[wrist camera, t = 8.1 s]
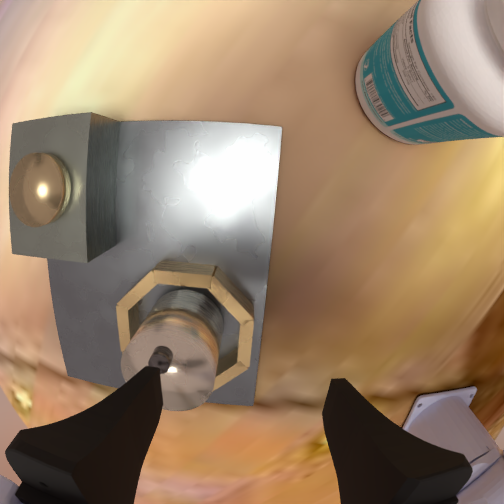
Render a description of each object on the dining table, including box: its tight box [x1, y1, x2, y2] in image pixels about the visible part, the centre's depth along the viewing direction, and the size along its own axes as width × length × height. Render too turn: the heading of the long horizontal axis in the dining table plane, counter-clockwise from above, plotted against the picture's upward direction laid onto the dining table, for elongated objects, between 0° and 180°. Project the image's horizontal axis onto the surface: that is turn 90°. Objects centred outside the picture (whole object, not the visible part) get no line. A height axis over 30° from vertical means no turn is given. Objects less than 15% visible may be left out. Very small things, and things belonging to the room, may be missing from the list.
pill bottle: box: [355, 0, 504, 144], centre depth 11 cm, size 8×7×14 cm
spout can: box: [121, 290, 224, 411], centre depth 17 cm, size 5×5×7 cm
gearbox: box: [9, 112, 282, 406], centre depth 18 cm, size 20×16×6 cm
